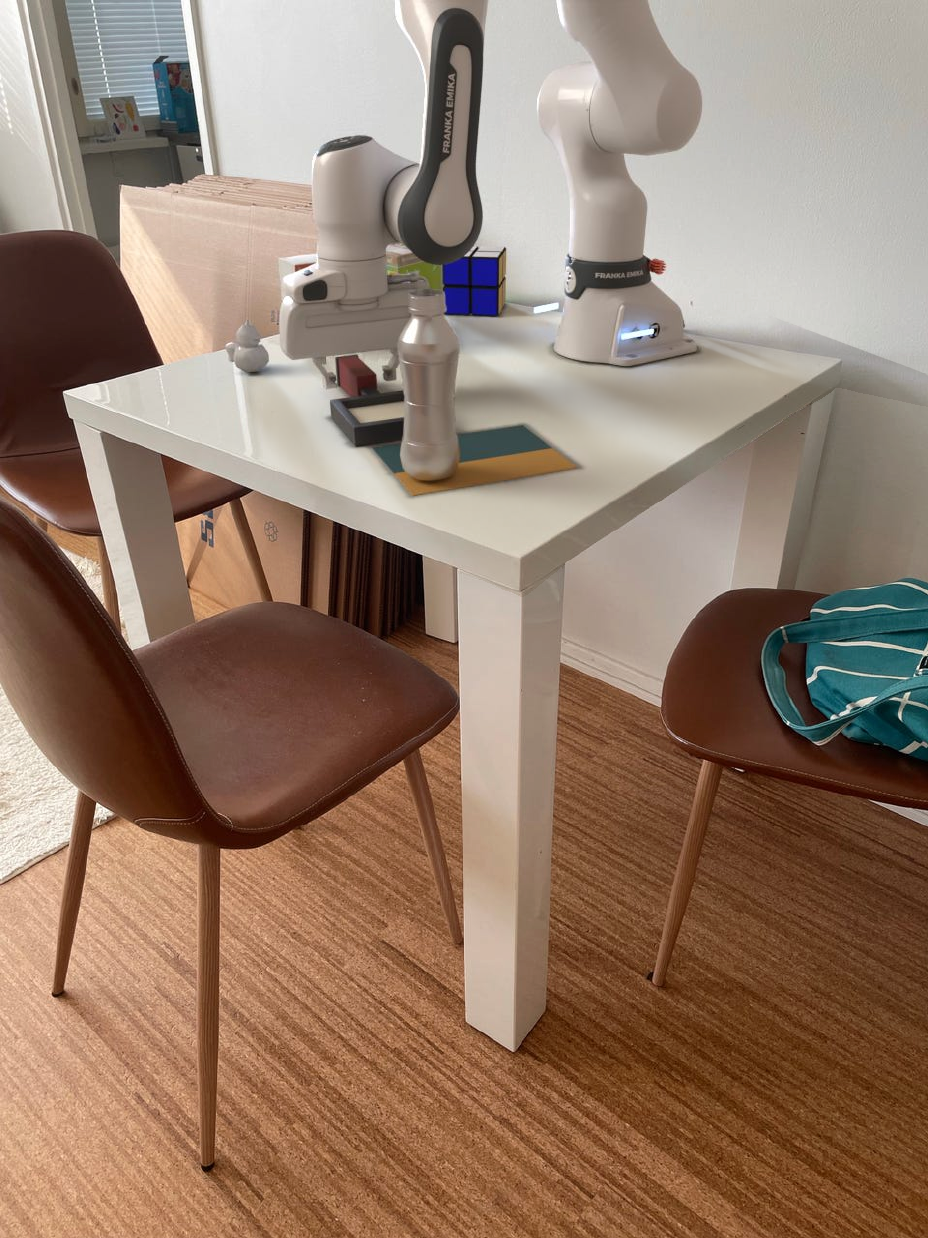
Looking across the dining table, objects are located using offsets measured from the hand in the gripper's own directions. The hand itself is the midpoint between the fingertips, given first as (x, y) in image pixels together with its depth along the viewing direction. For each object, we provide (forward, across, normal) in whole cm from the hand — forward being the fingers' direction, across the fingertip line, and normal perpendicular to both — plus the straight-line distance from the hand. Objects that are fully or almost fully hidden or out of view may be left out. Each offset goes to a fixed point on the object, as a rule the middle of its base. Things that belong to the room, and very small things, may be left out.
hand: (360, 383), depth 127 cm
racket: (+2, 0, +6) cm, 6 cm away
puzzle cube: (+2, -33, -39) cm, 51 cm away
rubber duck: (+2, +12, -18) cm, 22 cm away
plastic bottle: (+2, 0, +29) cm, 29 cm away
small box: (+2, -1, -29) cm, 29 cm away
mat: (+2, -6, +26) cm, 27 cm away
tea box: (+2, -13, -27) cm, 30 cm away
